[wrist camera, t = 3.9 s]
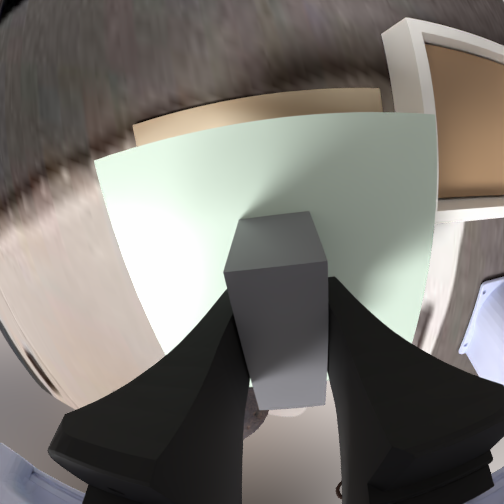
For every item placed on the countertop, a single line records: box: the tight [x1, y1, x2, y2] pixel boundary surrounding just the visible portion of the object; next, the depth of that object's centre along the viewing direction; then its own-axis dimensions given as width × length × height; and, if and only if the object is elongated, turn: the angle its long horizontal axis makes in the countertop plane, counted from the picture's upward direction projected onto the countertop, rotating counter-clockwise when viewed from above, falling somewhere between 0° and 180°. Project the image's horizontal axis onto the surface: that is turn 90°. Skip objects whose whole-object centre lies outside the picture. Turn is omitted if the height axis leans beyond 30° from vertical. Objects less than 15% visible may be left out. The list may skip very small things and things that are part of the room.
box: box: [381, 17, 504, 224], centre depth 12 cm, size 12×12×4 cm
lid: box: [94, 112, 437, 410], centre depth 10 cm, size 12×12×6 cm
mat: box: [133, 88, 383, 147], centre depth 19 cm, size 16×16×1 cm
